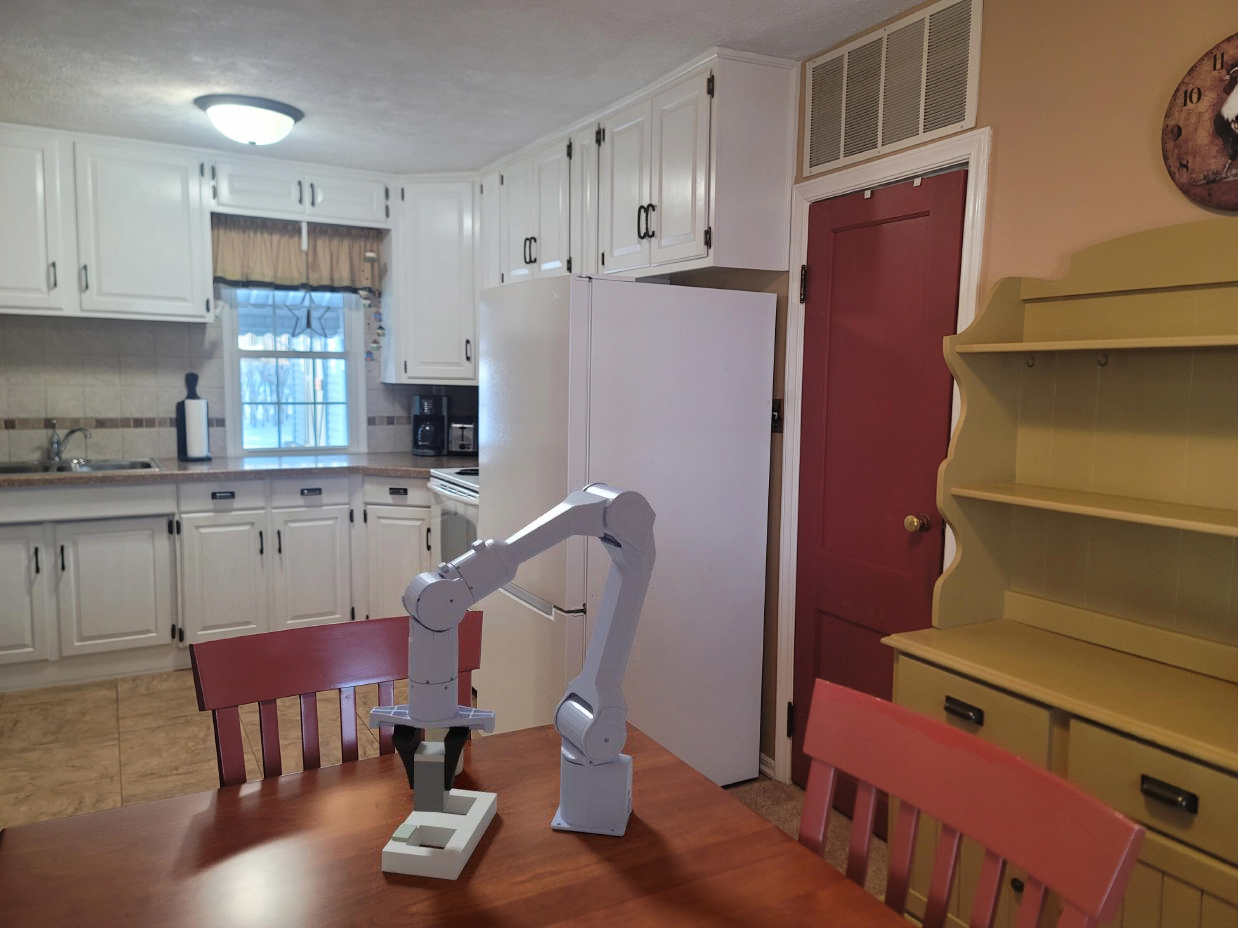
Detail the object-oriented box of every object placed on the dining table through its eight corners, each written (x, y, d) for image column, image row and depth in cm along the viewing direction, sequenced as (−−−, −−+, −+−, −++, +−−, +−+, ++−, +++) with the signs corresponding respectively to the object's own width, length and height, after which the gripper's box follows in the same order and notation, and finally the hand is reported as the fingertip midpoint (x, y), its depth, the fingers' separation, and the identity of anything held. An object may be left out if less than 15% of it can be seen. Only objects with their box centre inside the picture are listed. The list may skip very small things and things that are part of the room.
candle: (454, 780, 124) (455, 712, 123) (418, 775, 125) (418, 708, 124) (468, 763, 129) (469, 698, 128) (434, 759, 130) (434, 695, 129)
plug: (449, 797, 105) (450, 742, 105) (443, 812, 102) (444, 755, 101) (420, 796, 105) (421, 741, 105) (413, 811, 102) (414, 754, 101)
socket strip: (496, 811, 115) (497, 790, 115) (456, 879, 100) (456, 856, 99) (432, 804, 117) (432, 783, 116) (381, 870, 101) (382, 847, 101)
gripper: (499, 666, 106) (497, 772, 107) (381, 662, 106) (380, 768, 107) (490, 687, 99) (488, 800, 100) (363, 682, 99) (363, 796, 100)
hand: (432, 786), depth 103 cm, fingers closed on plug, 3 cm apart
